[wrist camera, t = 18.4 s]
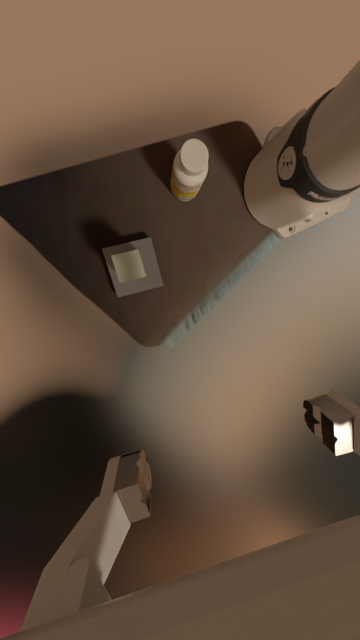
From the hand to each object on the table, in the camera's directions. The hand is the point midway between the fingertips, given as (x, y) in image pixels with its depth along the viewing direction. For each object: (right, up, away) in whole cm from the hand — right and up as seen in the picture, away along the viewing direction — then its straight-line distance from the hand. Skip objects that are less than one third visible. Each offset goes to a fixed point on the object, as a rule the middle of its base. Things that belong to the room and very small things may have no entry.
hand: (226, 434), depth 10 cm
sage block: (-11, +15, +27) cm, 33 cm away
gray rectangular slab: (-11, +16, +29) cm, 35 cm away
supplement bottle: (-1, +30, +27) cm, 41 cm away
